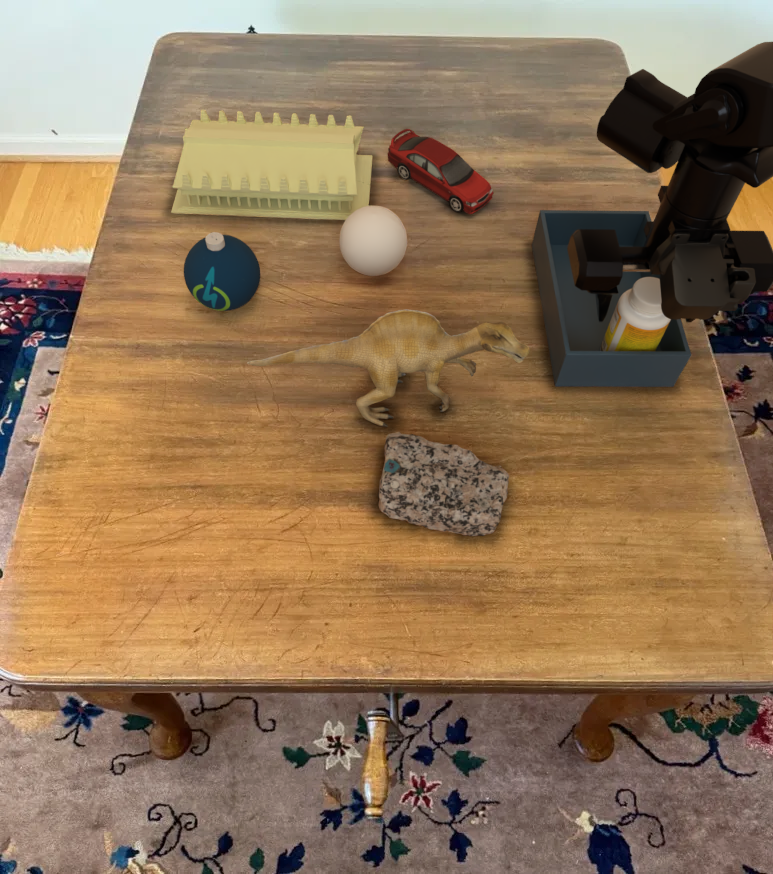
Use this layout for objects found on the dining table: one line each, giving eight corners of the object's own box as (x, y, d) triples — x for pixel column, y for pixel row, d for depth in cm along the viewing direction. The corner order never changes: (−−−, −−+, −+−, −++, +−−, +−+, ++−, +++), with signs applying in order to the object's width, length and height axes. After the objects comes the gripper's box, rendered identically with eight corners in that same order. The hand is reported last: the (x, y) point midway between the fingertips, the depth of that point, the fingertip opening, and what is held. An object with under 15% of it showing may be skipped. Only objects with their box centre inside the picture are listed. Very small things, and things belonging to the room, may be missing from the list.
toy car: (413, 150, 102) (415, 118, 98) (494, 204, 97) (500, 172, 92) (384, 168, 100) (384, 135, 96) (465, 224, 94) (470, 192, 90)
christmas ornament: (176, 305, 86) (155, 239, 78) (225, 263, 90) (210, 196, 82) (231, 337, 84) (216, 273, 75) (279, 293, 87) (269, 227, 79)
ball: (336, 288, 88) (334, 236, 81) (343, 241, 92) (341, 188, 86) (404, 292, 88) (407, 240, 81) (407, 245, 92) (410, 192, 86)
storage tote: (673, 387, 81) (691, 355, 76) (554, 386, 81) (566, 354, 76) (634, 245, 93) (648, 210, 88) (531, 245, 93) (539, 209, 88)
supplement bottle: (659, 365, 82) (693, 301, 73) (617, 382, 81) (647, 318, 72) (629, 330, 85) (659, 264, 76) (588, 346, 83) (614, 280, 75)
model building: (372, 155, 102) (372, 107, 96) (367, 222, 94) (367, 175, 88) (190, 148, 102) (179, 99, 96) (171, 214, 94) (157, 167, 88)
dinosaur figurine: (514, 416, 78) (538, 332, 67) (262, 438, 76) (244, 356, 65) (499, 359, 83) (520, 272, 71) (260, 379, 81) (243, 292, 69)
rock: (368, 521, 72) (368, 499, 68) (386, 446, 76) (387, 422, 72) (497, 546, 70) (505, 525, 67) (508, 469, 75) (515, 445, 71)
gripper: (608, 263, 60) (565, 380, 73) (836, 264, 60) (753, 381, 73) (587, 173, 66) (551, 296, 79) (794, 175, 66) (724, 298, 80)
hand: (643, 319), depth 78 cm, fingers open, 9 cm apart
